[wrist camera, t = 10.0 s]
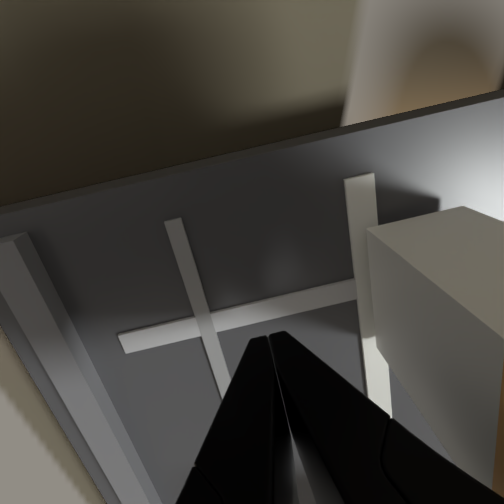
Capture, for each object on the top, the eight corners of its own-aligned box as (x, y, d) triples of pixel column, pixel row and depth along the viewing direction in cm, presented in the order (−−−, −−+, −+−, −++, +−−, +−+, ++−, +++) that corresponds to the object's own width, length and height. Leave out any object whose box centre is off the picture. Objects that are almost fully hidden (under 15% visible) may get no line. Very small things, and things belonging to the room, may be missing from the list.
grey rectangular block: (462, 205, 8) (735, 312, 4) (459, 327, 10) (658, 505, 5) (366, 228, 8) (532, 360, 4) (376, 347, 10) (508, 543, 5)
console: (678, 48, 9) (798, 32, 7) (576, 481, 16) (624, 531, 14) (-17, 210, 9) (-79, 237, 7) (180, 576, 16) (175, 639, 14)
